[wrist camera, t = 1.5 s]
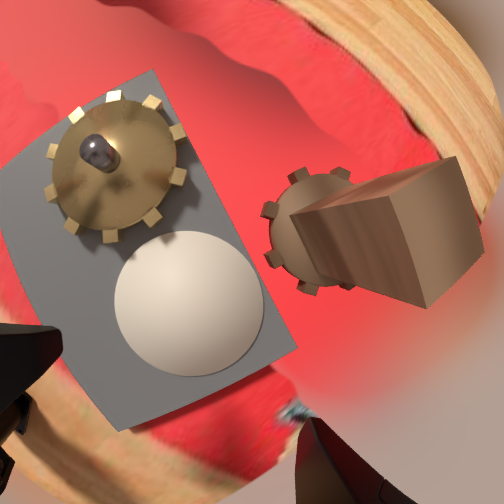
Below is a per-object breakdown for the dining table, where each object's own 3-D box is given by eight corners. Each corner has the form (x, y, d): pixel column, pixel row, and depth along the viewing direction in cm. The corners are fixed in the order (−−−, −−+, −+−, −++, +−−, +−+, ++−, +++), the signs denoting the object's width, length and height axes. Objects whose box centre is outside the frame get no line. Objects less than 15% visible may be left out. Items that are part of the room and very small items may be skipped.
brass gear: (134, 270, 18) (115, 281, 13) (32, 196, 16) (-3, 189, 11) (217, 140, 18) (222, 114, 14) (108, 81, 16) (91, 49, 12)
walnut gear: (294, 315, 21) (392, 396, 9) (236, 201, 20) (288, 151, 8) (387, 255, 22) (512, 271, 10) (341, 151, 21) (455, 91, 9)
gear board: (121, 422, 19) (117, 433, 18) (-3, 184, 16) (-14, 181, 15) (291, 340, 21) (298, 348, 20) (155, 78, 18) (152, 67, 17)
